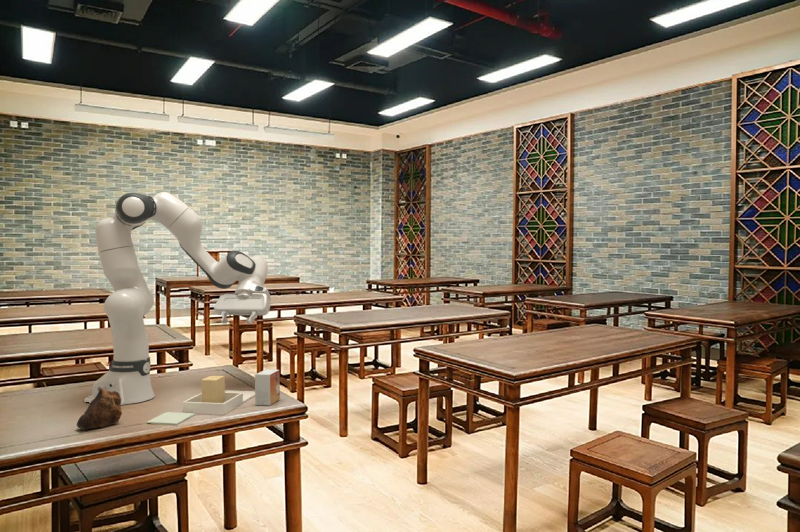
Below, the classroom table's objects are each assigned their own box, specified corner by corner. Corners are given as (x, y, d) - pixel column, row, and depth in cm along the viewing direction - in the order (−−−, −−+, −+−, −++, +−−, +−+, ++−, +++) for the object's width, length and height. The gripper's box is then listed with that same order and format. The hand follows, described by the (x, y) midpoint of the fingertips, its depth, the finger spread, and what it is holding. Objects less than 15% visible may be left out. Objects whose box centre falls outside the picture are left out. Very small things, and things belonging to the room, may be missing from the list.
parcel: (201, 410, 176) (201, 379, 176) (211, 405, 182) (210, 375, 182) (216, 411, 176) (215, 380, 175) (225, 405, 182) (224, 376, 181)
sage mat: (146, 423, 163) (146, 421, 163) (166, 413, 173) (166, 412, 173) (176, 425, 162) (176, 423, 162) (195, 415, 171) (195, 413, 171)
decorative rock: (118, 419, 167) (117, 384, 167) (126, 423, 163) (125, 388, 163) (75, 429, 159) (74, 392, 158) (81, 433, 155) (80, 396, 154)
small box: (270, 406, 181) (269, 374, 181) (254, 405, 182) (254, 374, 182) (280, 399, 189) (279, 369, 188) (265, 398, 190) (264, 368, 190)
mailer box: (182, 412, 174) (182, 402, 174) (222, 391, 200) (222, 382, 200) (224, 414, 171) (223, 403, 171) (259, 392, 197) (259, 383, 197)
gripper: (218, 287, 203) (205, 317, 194) (270, 287, 200) (259, 317, 191) (224, 298, 208) (212, 327, 199) (275, 298, 205) (265, 328, 195)
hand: (236, 322), depth 195 cm, fingers open, 8 cm apart
